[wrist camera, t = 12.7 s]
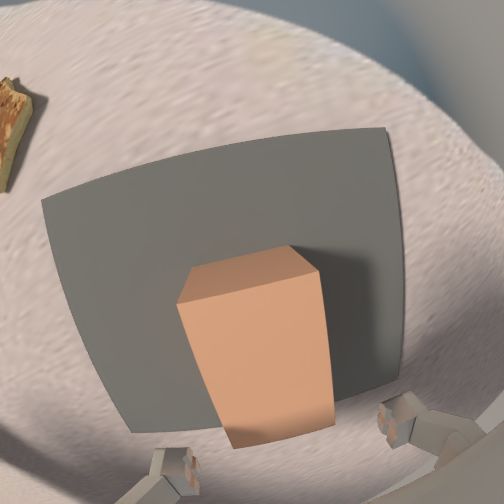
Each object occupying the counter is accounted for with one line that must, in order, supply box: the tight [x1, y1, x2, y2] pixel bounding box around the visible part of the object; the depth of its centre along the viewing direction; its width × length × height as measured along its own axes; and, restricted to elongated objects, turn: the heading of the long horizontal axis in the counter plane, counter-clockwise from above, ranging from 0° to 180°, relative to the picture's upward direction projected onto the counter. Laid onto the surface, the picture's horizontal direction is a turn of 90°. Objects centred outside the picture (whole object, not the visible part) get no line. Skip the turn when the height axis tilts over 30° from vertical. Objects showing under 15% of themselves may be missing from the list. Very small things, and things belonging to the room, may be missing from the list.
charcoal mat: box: [41, 127, 403, 433], centre depth 15 cm, size 20×17×1 cm
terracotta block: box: [176, 245, 335, 449], centre depth 13 cm, size 5×5×8 cm
